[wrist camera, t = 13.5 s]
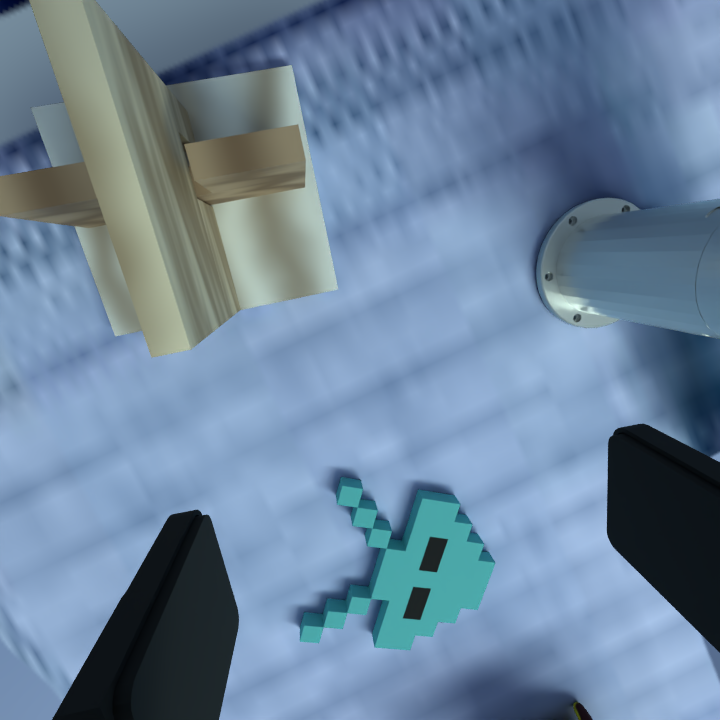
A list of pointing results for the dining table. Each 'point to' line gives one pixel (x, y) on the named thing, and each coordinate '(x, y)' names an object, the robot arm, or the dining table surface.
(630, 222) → the robot arm
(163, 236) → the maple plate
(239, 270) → the cross base
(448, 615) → the alien figure
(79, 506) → the dining table surface
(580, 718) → the decorative lantern
